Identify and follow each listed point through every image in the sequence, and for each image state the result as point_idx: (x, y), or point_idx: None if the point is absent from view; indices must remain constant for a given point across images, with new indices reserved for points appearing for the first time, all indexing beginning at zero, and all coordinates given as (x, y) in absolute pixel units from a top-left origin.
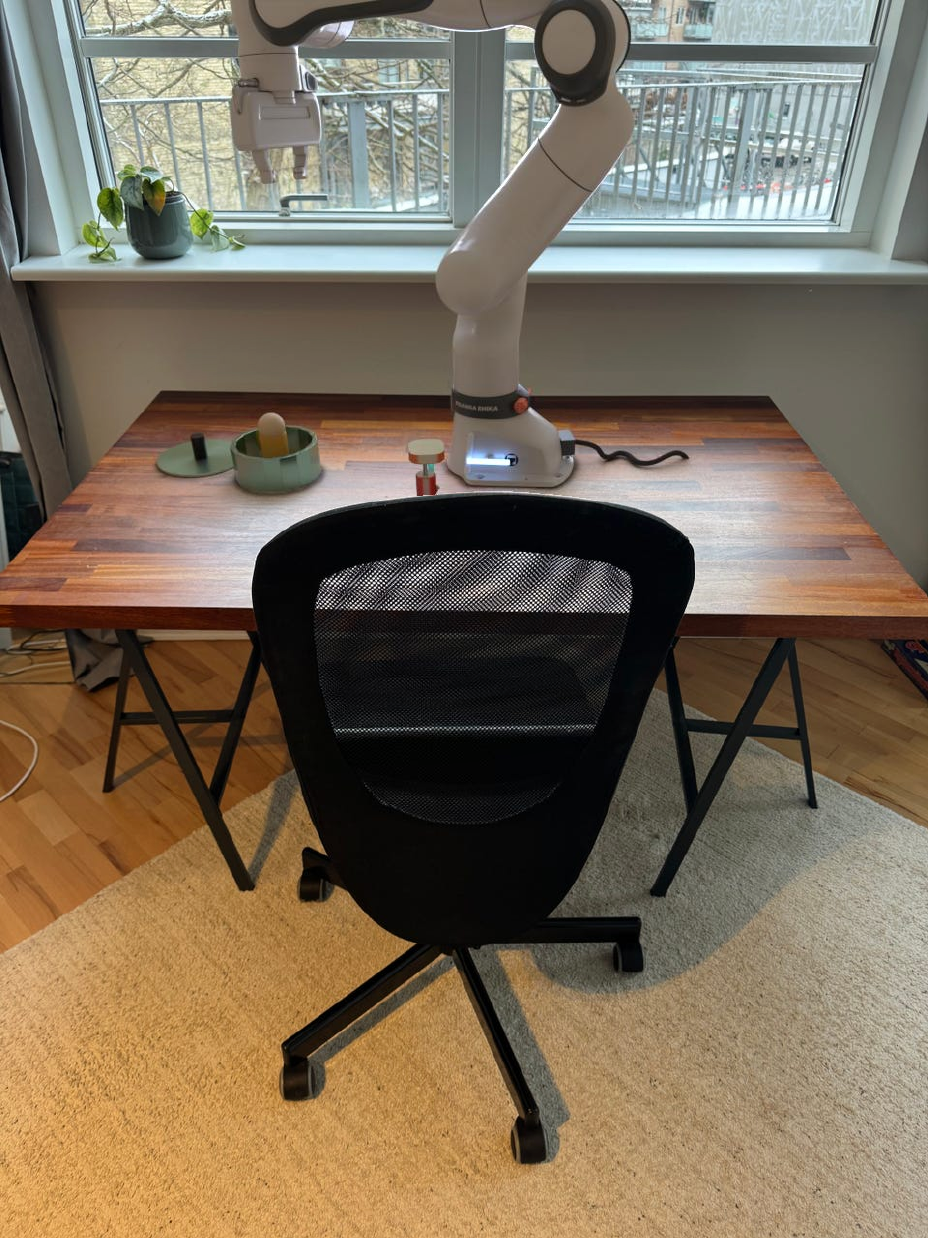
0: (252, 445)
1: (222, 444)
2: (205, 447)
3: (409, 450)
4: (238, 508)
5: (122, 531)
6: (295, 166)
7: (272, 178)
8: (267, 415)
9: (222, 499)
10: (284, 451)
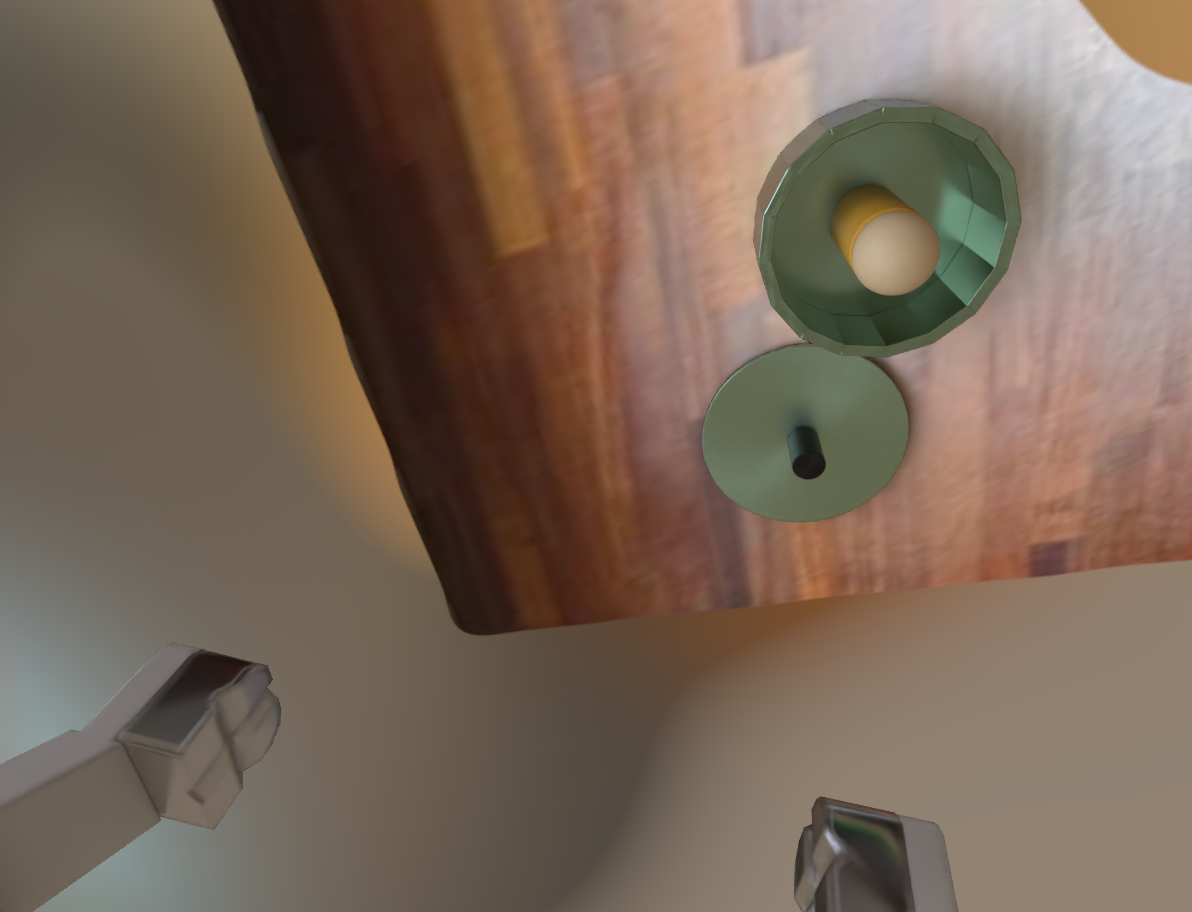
0: (819, 322)
1: (730, 423)
2: (806, 437)
3: None
4: (1062, 239)
5: (1171, 438)
6: (159, 814)
7: (900, 846)
8: (916, 266)
9: (1008, 300)
10: (899, 200)
